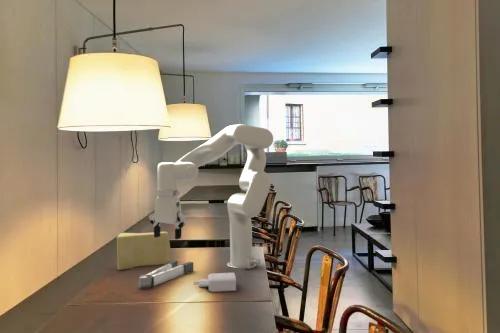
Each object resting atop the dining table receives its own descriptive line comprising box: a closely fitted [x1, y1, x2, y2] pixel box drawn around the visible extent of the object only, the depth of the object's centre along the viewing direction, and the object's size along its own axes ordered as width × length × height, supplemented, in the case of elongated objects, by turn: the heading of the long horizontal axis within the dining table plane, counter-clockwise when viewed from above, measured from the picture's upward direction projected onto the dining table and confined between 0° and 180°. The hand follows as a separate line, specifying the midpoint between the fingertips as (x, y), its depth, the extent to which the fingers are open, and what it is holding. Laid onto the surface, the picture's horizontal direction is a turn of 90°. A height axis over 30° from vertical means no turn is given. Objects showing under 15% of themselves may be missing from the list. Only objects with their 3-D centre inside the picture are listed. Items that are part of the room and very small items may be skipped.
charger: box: [193, 272, 237, 293], centre depth 152 cm, size 5×9×15 cm
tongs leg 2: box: [152, 261, 194, 287], centre depth 162 cm, size 22×2×4 cm, turn 150°
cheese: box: [116, 231, 172, 271], centre depth 184 cm, size 22×10×15 cm, turn 96°
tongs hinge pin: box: [138, 274, 152, 290], centre depth 151 cm, size 4×4×4 cm
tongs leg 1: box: [145, 259, 179, 276], centre depth 164 cm, size 22×2×4 cm, turn 162°
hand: (167, 237), depth 164 cm, fingers open, 9 cm apart
